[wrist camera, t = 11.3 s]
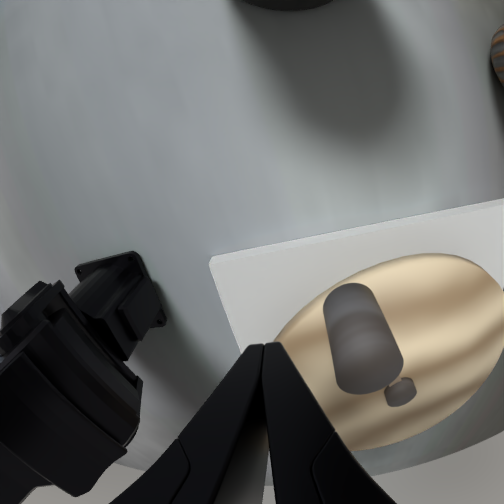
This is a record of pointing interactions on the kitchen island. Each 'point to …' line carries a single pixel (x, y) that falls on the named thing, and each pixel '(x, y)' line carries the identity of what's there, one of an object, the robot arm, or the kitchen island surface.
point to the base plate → (345, 263)
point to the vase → (498, 53)
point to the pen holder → (288, 4)
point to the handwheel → (398, 345)
